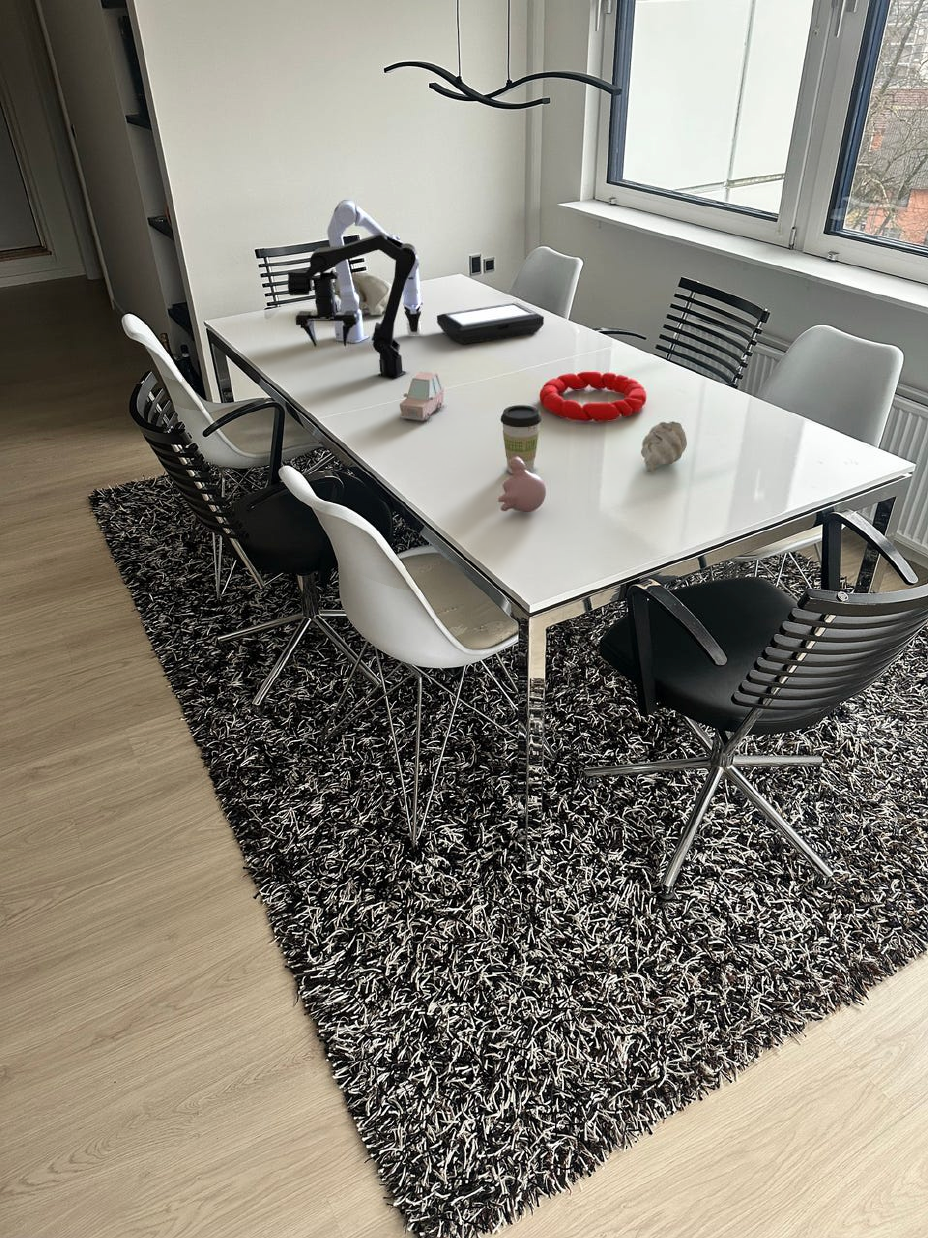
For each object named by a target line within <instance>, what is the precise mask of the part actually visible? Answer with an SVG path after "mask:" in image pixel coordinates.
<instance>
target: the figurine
mask: <svg viewBox="0 0 928 1238" xmlns="http://www.w3.org/2000/svg"><path fill="white" fill-rule="evenodd" d="M509 467H510V468H511V469H512V473H511V475H512V476H510V477H508V479H506V480H505V481H503V484H502V488H503V491H504V493H503V494H501V495H500V496H499V497H498V498H497V500H498V501H497V502H498V503H502V505H501V506H500V510H501V511H502V512H507V511H509V510H514V511H517V512H520V513H531V512H534V511H536V510H537V509H539V508H540V507H541V506H542V505H543V503H544V501H545V500H546V494H547V489H546V485H545V483H544V481H543V480H542V479H541V477H540V476H538V475H537V474H535V473H532V472H531V473H529V472H528V471H526V466H525V464H524V462H523V461H522V460H521V459H520V458H519V457H514V458H512V459H511V460H510V461H509Z"/></svg>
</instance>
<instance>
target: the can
mask: <svg viewBox="0 0 928 1238" xmlns="http://www.w3.org/2000/svg"><path fill="white" fill-rule="evenodd" d="M421 327H422V326H421V320H420V319H419V321H418V329H417V332H411V330H410V326H409V322H408V319H407V320H406V332H407V336H419V335H420V334H421V333H422V330H421V329H422V328H421Z"/></svg>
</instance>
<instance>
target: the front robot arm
mask: <svg viewBox="0 0 928 1238" xmlns="http://www.w3.org/2000/svg"><path fill="white" fill-rule="evenodd" d="M400 241H401V240H400ZM400 241H398V240H396V239H393V238H391V237H388V236H387V235H385V234H384V233H377V234H376V235H373V234H372V235H370V236H367V237H364V238H361V239H357V240H354V241H352V242H348V243H346V244H345V243H344V245H342V246H338V247H330V246H324V247H319V248H316V249H315V250H314V251H313V252H312V254H311V256H310V258H309V265H310V266H308V267H307V268H306V270H300V271H297V270H288V273H287V276H288V277H287V290H288V294H289V296H310V293H311V292H313V291H314V298H315V300H314V303H315V309H316V314H313V312H312V311H311V310H300V311H298V313H297V314H296V316H294V321H295V325H296V326H300V329H303V330H304V331H305V332H306V334H307V335H308V337H309V339H310V340H311V342H312V344H313V345H314V348H316V347H318V342H317V341H318V340H317V336H316V331H315V322H334V321H343V323H344V325H343V341H342V342H343V346H344V348H345V347H347V344H348V342H347V339H348V334H349V331H350V328H352V327H353V326H354V325H357V323H358V321H359V320H360V319H359V313H358V312H357V311H346V312H345V313H344V314H343V315H336V314H337V313H338V312H340V301H339V300H337V299H336V295H334V294H335V291H334V280H335V279H338V277H339V274H337V273H336V270H334V268H335V266H336V265H337V264H339V263H340V262H342V261H345V260H348V261H349V260H351V259H354V258H358V257H361V256H363V255H367V254H370V253H373V252H376V251H380V252H382V253H384V255H386V256H388V257H389V258H390V259H391V260H393V261H395V263H394V276H393V281H392V284H391V285H392V288H391V292H390V295H389V299H388V303H387V306H386V310H384V314H383V318H382V320H381V321H380V322H375V325H374V331H373V333H372V336H371V339H370V340H371V341H372V347H373V349H374V351H375V352H376V353H378V354H379V359H378V365H379V373H377V376H378V377H380V378H386V379H392V380H396V379H398V378H399V377H402V376H403V375H405V374H406V371H405V370H403V359H402V355H401V354H400V350H401V349H400V348H401V344H400V343H399V341H397V340H396V339H394V333H395V332H394V331H395V322H396V319H397V314H398V312H399V311H398V310H399V307H400V303H401V300H402V298H403V297H402V296H403V290H404V286H405V282H406V280H407V278H408V276H409V274H410V272H411V270H412V268H413V266H414V264H415V261H416V255H417V256H418V254H417V253H418V252H417V249H416V247H415V246H414V245H413V244H411V243H406V242H405V243H404V242H402V241H401V242H400ZM329 270H330V271H329ZM318 273H319V274H318Z"/></svg>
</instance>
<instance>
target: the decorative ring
mask: <svg viewBox="0 0 928 1238" xmlns="http://www.w3.org/2000/svg"><path fill="white" fill-rule="evenodd" d="M588 386H589V387H591V388H592V389H595V390H603V389H607V390H608V391H612V392H615V393H617V394H618V393H619V394H622V395H624V396H625V398H623V399H618V400H615V401H611V402H605V401H604V402H587V403H585V404H583V405H582V406H581V404H580V403H579V402H578V401H576V400H572V399H567V400H564V398H563V397H562V396H560V395H561V394H564V393H565V392H566V391H567V390H568V389H570V390H572V391H573V390H574V391H580V390H581V391H582V390H584V389H586V388H588ZM539 401H540V404H541V405H542V406H543V407H544V408H545V410H547V411H548V412H549V413H552V414H553V415H556V416H558V417H561V418H564V419H569V420H573V421H581V422H590V421H592V420H593V421H594V422H611V421H615V420H617V419H618V418H619V417H620V416H622V417H629V416H631V415H632V414H636V413H638V412H639V411H640V410H642V408H643V406H644V405H645V404H646V401H647V392H646V390H645V388H644V386H643V385H642V384H641V383H639V382H638V381H637V380H635V379H634V378H629V377H628V376H626V375H622V374H618V375H616V374H615V373H614V372H605V373H603V374H602V373H601V372H598V371H580V372H579V373H576V374H575V373H573V372H572V373H566V374H561V375H559V376H557V377H556V378H551V379H550V380H548V381H546V382H545V384H543V386H542V388H541V389H540V391H539Z"/></svg>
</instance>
